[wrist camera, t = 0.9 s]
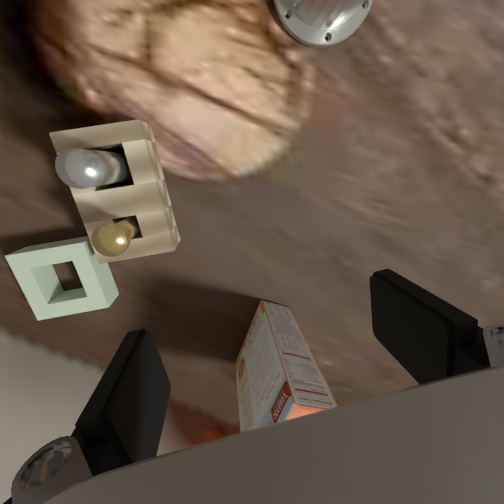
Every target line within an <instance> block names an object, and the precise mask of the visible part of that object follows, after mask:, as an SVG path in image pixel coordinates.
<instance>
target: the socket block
mask: <svg viewBox="0 0 504 504" xmlns="http://www.w3.org/2000/svg"><path fill="white" fill-rule="evenodd" d="M49 135H50V137H51V140H52V143H53V145H54V148H55V150H56V153H57V155H58V154H59V153H60V152H61V151H63V150H65V149H68V148H78V149H88V150H98V151H103V150H109V149H116V148H122V147H123V148H124V152H125V155H126V158H127V162H128V165H129V168H130V172H131V175H132V178H133V182H134V184H131V185H125V186H119V187H112V188H111V185H110V184H106V185H100V186H95V187H89V188H84V189H77V188H73V187H70V186H69V187H70V189H71V192H72V195H73V197H74V200H75V202H76V205H77V208H78V210H79V213H80V215H81V218H82V221H83V223H84V226H85V229H86V231H87V234H88V236H89V239H90V242H91V244H92V241H91V236H92V233H93V231H94V230H95V229H96V228H97V227H99V226H101V225H103V224H105V223H109V222H114V223H118V222H120V221H122V220H123V219H125V218H127V217H128V216H133V215H136V217H137V220H138V223H139V226H140V230H141V231H140V232H138V233H137V234H136V235H135V236H134V237H132V238H131V242H130V246H129V247H128V249H127V250H125V251H124V252H123V253H122V254H121V255H119V256H116V257H107V256H104V255H102V254H100V253H99V252H97V251H96V249H95V248H94V247H93V245H92V247H93V249H94V252H95V255H96V257H97V260H98V262H99V264H102V263H108V262H113V261H119V260H125V259H130V258H136V257H142V256H147V255H153V254H159V253H164V252H170V251H175V249H176V247H177V245H178V243H179V242H180V237H179V233H178V229H177V226H176V222H175V218H174V214H173V210H172V206H171V202H170V198H169V195H168V191H167V187H166V183H165V179H164V175H163V171H162V167H161V164H160V160H159V156H158V152H157V148H156V144H155V140H154V136H153V133H152V129H151V125H149V124H147V123H145V122H143V121H141V120H139V119H138V120H131V121H124V122H118V123H111V124H104V125H97V126H91V127H84V128H77V129H71V130H64V131H57V132H50V133H49Z"/></svg>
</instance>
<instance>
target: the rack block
mask: <svg viewBox="0 0 504 504" xmlns="http://www.w3.org/2000/svg"><path fill="white" fill-rule="evenodd" d="M5 257H6V259H7V261H8V263H9V265H10V267H11V269H12V271H13V273H14V275H15V277H16V279H17V281H18V283H19V285H20V287H21V289H22V291H23V292H24V294H25V296H26V298H27V300H28V302H29V304H30V306H31V308H32V310H33V312H34V314H35V316H36V318H37V320H43V319H49V318H54V317H59V316H65V315H70V314H76V313H81V312H86V311H92V310H97V309H103V308H108V307H109V306H110V305H111V304H112V302H113V301H114V300H115V299H116V297H117V296H118V295H119V293H118V290H117V287H116V284H115V282H114V279H113V276H112V274H111V271H110V268H109V266H108V263H102V264H99V262H98V260H97V257H96V255H95V252H94V249H93V247H92V244H91V242H90V239H89V236H85V237H79V238H73V239H68V240H62V241H56V242H50V243H44V244H38V245H32V246H27V247H24V248H22V249H20V250H17V251H15V252H13V253H10V254H8V255H6V256H5ZM68 261H73V263H74V266H75V268H76V270H77V273H78V275H79V277H80V280H81V282H82V285H83V288H78V289H72V290H67V291H63V288H62V286H61V284H60V282H59V280H58V277H57V275H56V273H55V271H54V268H53V266H52V264H57V263H62V262H68Z"/></svg>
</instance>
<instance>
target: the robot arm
mask: <svg viewBox="0 0 504 504" xmlns="http://www.w3.org/2000/svg"><path fill="white" fill-rule="evenodd" d="M273 2H274V6H275V10H276V12H277V15H278V17H279V19H280V21H281V23H282V24H283V26H284V28H285V29H286V30H287V31H288V33H289V34H290V35H291V36H292V37H293V38H295V39H296V40H297V41H299V42H300V43H302V44H305V45H307V46H309V47H315V48H327V47H331V46H334V45H337V44H339V43H341V42H342V41H344V40H346V39H347V38H348V37H349V36H350V35H351V34H352V33H354V31H355V30H356V29H357V28H358V27H359V26H360V25H361V23H362V22H363V20H364V19H365V17H366V16H367V14H368V12H369V10H370V8H371V5H372V2H373V0H273ZM285 16H288V18H289V19H287V18H286V17H285ZM325 38H326V39H327V41H326V40H325ZM370 293H371V309H372V326H373V333H374V335H375V337H376V338H377V339H378V341H379V342H380V343H381V344H382V345H383V346H384V347H385V348H386V349H387V350H388V351H389V352H390V353H391V354H392V355H393V356H394V358H395V359H396V360H397V361H398V362H399V363H400V364H401V365H402V366H403V367H404V368H405V369H406V370H407V371H408V372H409V373H410V375H411V376H412V377H413V378H414V379H415V380H416V381H417V382H418V383H419V384H420V385H416V386H413V387H409V388H405V389H401V390H397V391H394V392H390V393H386V394H382V395H378V396H375V397H371V398H367V399H363V400H360V401H356V402H352V403H348V404H345V405H341V406H337V407H333V408H330V409H326V410H322V411H319V412H315V413H311V414H307V415H304V416H300V417H296V418H293V419H289V420H285V421H282V422H278V423H274V424H271V425H267V426H263V427H260V428H256V429H252V430H249V431H245V432H241V433H238V434H235V435H231V436H227V437H223V438H220V439H216V440H213V441H209V442H205V443H202V444H198V445H195V446H191V447H187V448H184V449H181V450H177V451H173V452H170V453H166V454H163V455H159V456H156V455H157V450H158V446H159V442H160V437H161V433H162V428H163V424H164V419H165V415H166V410H167V406H168V401H169V396H170V392H171V385H170V381H169V378H168V376H167V373H166V371H165V368H164V366H163V363H162V360H161V358H160V355H159V353H158V350H157V348H156V345H155V343H154V340H153V337H152V335H151V333H150V331H145V330H144V329H139V330H135V331H131V332H128V333H127V334H126V336H125V338H124V340H123V341H122V343H121V345H120V347H119V348H118V350H117V352H116V354H115V355H114V357H113V359H112V361H111V362H110V364H109V366H108V368H107V369H106V371H105V373H104V375H103V376H102V378H101V380H100V382H99V383H98V385H97V387H96V389H95V390H94V392H93V394H92V396H91V398H90V399H89V401H88V403H87V405H86V406H85V408H84V410H83V412H82V413H81V415H80V417H79V419H78V421H77V422H76V424H75V426H76V428H75V429H74V431H73V433H72V435H71V436H65V437H60V438H58V439H55V440H53V441H51V442H49V443H48V444H46V445H45V446H43V447H42V448H40V449H39V450H38V451H37V452H35V453H34V454H33V455H32V456H31V457H30V458H29V459H28V460H27V461H26V462H25V463H24V464H23V466H22V467H21V469H20V470H19V471H18V472H17V474H16V476H15V478H14V480H13V482H12V488H11V495H12V497H11V498H9V499H8V500H7V501H6V502H4V503H3V504H504V323H499V324H492V325H489V326H487V327H486V328H484V329H482V328H481V327H479V326H477V325H478V320H477V319H475V318H474V317H472V316H470V315H468V314H467V313H465V312H463V311H461V310H460V309H458V308H456V307H454V306H453V305H451V304H449V303H447V302H446V301H444V300H442V299H440V298H439V297H437V296H435V295H434V294H432V293H430V292H428V291H427V290H425V289H423V288H421V287H420V286H418V285H416V284H414V283H413V282H411V281H409V280H407V279H406V278H404V277H402V276H400V275H399V274H397V273H395V272H394V271H392V270H390V269H385V270H381V271H377V272H374V273H373V276H371V277H370Z"/></svg>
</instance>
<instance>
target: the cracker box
mask: <svg viewBox="0 0 504 504" xmlns="http://www.w3.org/2000/svg"><path fill="white" fill-rule="evenodd" d="M235 366H236V379H237V391H238V403H239V415H240V427H241V432H245V431H249V430H252V429H256V428H260V427H263V426H267V425H271V424H274V423H278V422H282V421H285V420H289V419H293V418H296V417H300V416H304V415H307V414H311V413H315V412H319V411H322V410H326V409H330V408H333V407H337V404H336V402H335V399H334V397H333V395H332V393H331V391H330V389H329V387H328V385H327V383H326V381H325V379H324V377H323V375H322V373H321V371H320V369H319V367H318V365H317V363H316V361H315V359H314V357H313V355H312V353H311V351H310V349H309V347H308V345H307V343H306V341H305V339H304V337H303V335H302V333H301V331H300V329H299V326H298V324H297V322H296V320H295V318H294V316H293V314H292V312H291V310H290V308H289V307H286V306H283V305H279V304H275V303H271V302H268V301H264V300H260V302H259V305H258V307H257V310H256V312H255V314H254V317H253V320H252V322H251V325H250V327H249V330H248V332H247V335H246V337H245V339H244V342H243V344H242V347H241V349H240V352H239V354H238V357H237V359H236V362H235Z"/></svg>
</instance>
